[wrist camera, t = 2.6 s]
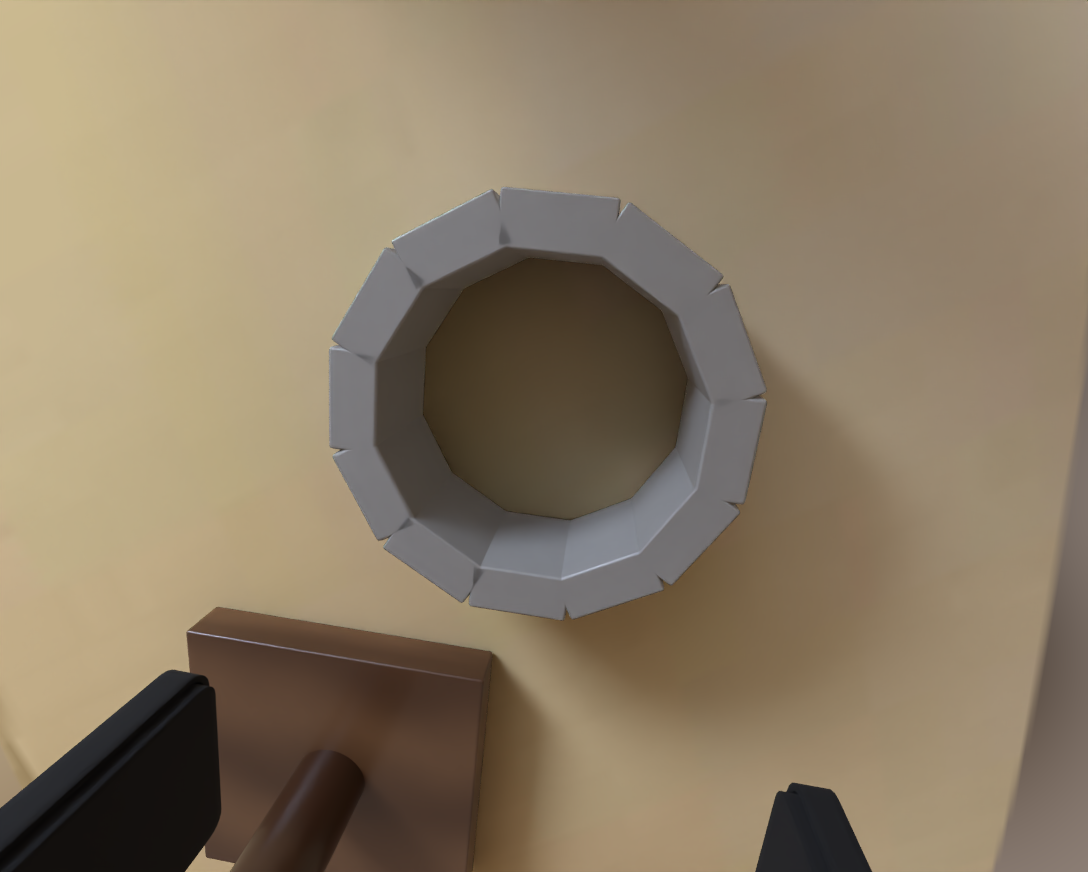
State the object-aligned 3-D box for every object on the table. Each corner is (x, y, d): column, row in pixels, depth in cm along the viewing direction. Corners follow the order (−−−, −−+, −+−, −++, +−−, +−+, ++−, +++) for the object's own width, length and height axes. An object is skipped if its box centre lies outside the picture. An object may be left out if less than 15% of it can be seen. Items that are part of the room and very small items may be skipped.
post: (216, 605, 19) (-101, 864, 11) (493, 650, 18) (394, 969, 10) (231, 821, 22) (-13, 1166, 13) (472, 868, 21) (381, 1267, 13)
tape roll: (391, 196, 15) (326, 169, 12) (760, 233, 14) (810, 215, 11) (382, 527, 18) (328, 584, 14) (692, 572, 17) (714, 646, 13)
